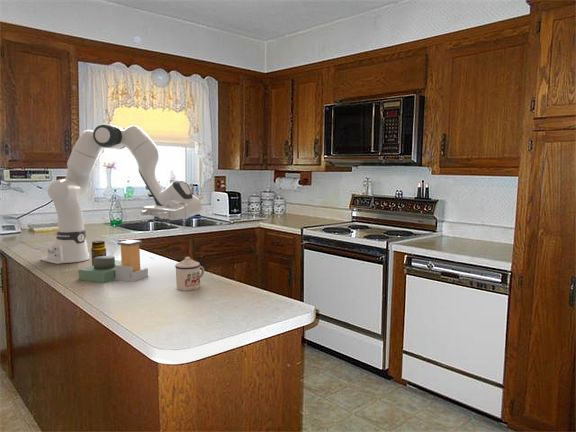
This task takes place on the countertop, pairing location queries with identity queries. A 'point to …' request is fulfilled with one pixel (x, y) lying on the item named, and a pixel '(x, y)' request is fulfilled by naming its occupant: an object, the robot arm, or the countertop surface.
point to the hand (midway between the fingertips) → (150, 214)
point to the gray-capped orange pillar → (130, 253)
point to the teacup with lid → (188, 274)
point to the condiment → (98, 249)
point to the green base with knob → (110, 271)
